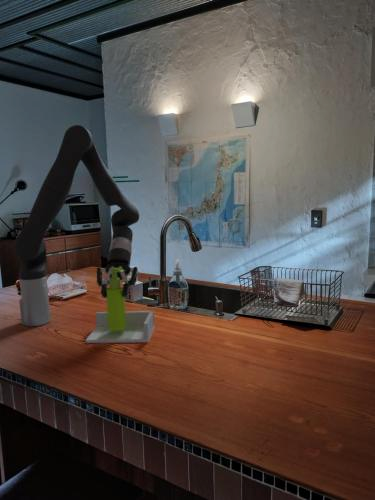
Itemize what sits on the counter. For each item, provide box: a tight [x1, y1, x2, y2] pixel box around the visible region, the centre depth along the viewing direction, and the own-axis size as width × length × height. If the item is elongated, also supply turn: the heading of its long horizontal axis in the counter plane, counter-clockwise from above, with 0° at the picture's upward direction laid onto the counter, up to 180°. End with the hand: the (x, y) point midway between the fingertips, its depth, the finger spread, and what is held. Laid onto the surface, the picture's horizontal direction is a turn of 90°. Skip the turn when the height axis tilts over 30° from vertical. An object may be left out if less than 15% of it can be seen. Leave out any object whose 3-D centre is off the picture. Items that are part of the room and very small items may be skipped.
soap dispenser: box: [105, 268, 126, 331], centre depth 125 cm, size 6×7×20 cm
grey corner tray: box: [85, 310, 155, 344], centre depth 128 cm, size 20×13×6 cm, turn 87°
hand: (114, 296), depth 124 cm, fingers closed on soap dispenser, 6 cm apart
